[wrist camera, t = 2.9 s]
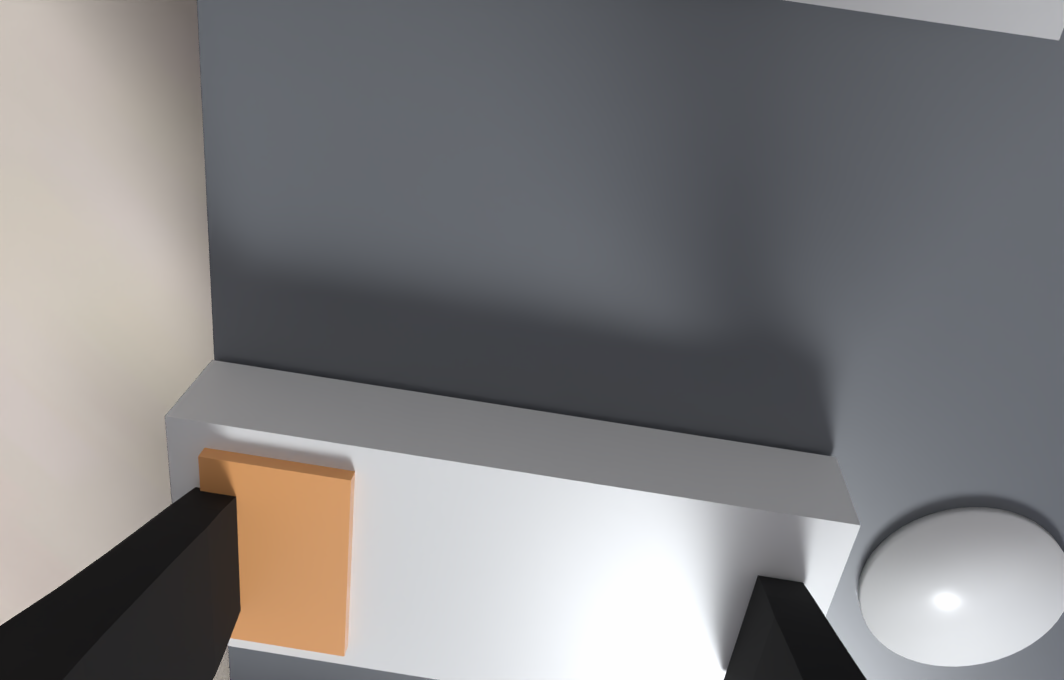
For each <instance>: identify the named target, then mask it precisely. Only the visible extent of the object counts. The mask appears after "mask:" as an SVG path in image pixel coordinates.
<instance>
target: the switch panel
mask: <svg viewBox="0 0 1064 680" xmlns="http://www.w3.org/2000/svg"><path fill="white" fill-rule="evenodd" d="M197 10H198V31H199V51H200V72H201V92H202V113H203V134H204V154H205V175H206V195H207V216H208V236H209V257H210V277H211V298H212V319H213V339H214V360H216V361H222V362H229V363H235V364H241V365H248V366H254V367H261V368H267V369H274V370H280V371H286V372H293V373H299V374H306V375H312V376H319V377H325V378H331V379H338V380H344V381H351V382H357V383H363V384H370V385H376V386H383V387H389V388H396V389H402V390H408V391H415V392H421V393H428V394H434V395H441V396H447V397H453V398H460V399H466V400H473V401H479V402H485V403H492V404H498V405H505V406H511V407H518V408H524V409H530V410H537V411H543V412H550V413H556V414H563V415H569V416H575V417H582V418H588V419H595V420H601V421H608V422H614V423H620V424H627V425H633V426H640V427H646V428H652V429H659V430H665V431H672V432H678V433H685V434H691V435H697V436H704V437H710V438H717V439H723V440H730V441H736V442H742V443H749V444H755V445H762V446H768V447H774V448H781V449H787V450H794V451H800V452H807V453H813V454H819V455H826V456H832V457H836V459H837V462H838V465H839V468H840V470H841V473H842V476H843V478H844V481H845V484H846V487H847V489H848V492H849V495H850V498H851V500H852V503H853V506H854V509H855V511H856V514H857V517H858V520H859V522H860V525H861V526H860V529H859V531H858V534H857V536H856V539H855V541H854V544H853V547H852V549H851V552H850V554H849V557H848V560H847V562H846V565H845V567H844V570H843V573H842V575H841V578H840V580H839V583H838V586H837V588H836V591H835V593H834V596H833V599H832V601H831V604H830V606H829V609H828V612H827V614H826V618H827V620H828V621H829V623H830V624H831V626H832V628H833V629H834V631H835V632H836V634H837V635H838V637H839V638H840V640H841V641H842V643H843V644H844V646H845V647H846V649H847V651H848V652H849V654H850V655H851V657H852V658H853V660H854V661H855V663H856V664H857V666H858V667H859V669H860V670H861V672H862V673H863V675H864V676H865V677H866V679H867V680H1064V29H1063V31H1062V34H1061V36H1060V39H1059V40H1052V39H1046V38H1039V37H1032V36H1025V35H1018V34H1011V33H1005V32H998V31H991V30H984V29H977V28H970V27H963V26H957V25H950V24H943V23H936V22H929V21H922V20H915V19H909V18H902V17H895V16H888V15H881V14H874V13H868V12H861V11H854V10H847V9H840V8H833V7H826V6H820V5H813V4H806V3H799V2H792V1H785V0H197ZM228 647H229V668H230V680H436V679H430V678H424V677H418V676H411V675H405V674H399V673H393V672H387V671H381V670H374V669H368V668H362V667H356V666H350V665H343V664H337V663H331V662H325V661H319V660H313V659H306V658H300V657H294V656H288V655H282V654H276V653H269V652H263V651H257V650H251V649H245V648H238V647H232V646H228Z"/></svg>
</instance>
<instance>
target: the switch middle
mask: <svg viewBox="0 0 1064 680" xmlns="http://www.w3.org/2000/svg"><path fill="white" fill-rule="evenodd" d="M165 424H166V436H167V448H168V460H169V472H170V485H171V497H172V504H173V503H174V502H175V501H177V500H178V499H179V498H181V497H182V496H184V495H185V494H186V493H188V492H189V491H191V490H192V489H193V488H195V487H198V488H200V491H205V492H211V493H217V494H224V495H230V496H236V501H237V527H238V553H239V579H240V605H241V611H240V614H239V616H238V619H237V622H236V624H235V627H234V630H233V632H232V635H231V637H230V640H229V643H228V645H227V646H232V647H238V648H245V649H251V650H257V651H263V652H269V653H276V654H282V655H288V656H294V657H300V658H306V659H313V660H319V661H325V662H331V663H337V664H343V665H350V666H356V667H362V668H368V669H374V670H381V671H387V672H393V673H399V674H405V675H411V676H418V677H424V678H430V679H436V680H724V677H725V674H726V671H727V668H728V665H729V662H730V659H731V656H732V653H733V650H734V647H735V644H736V641H737V638H738V634H739V631H740V628H741V625H742V622H743V619H744V616H745V613H746V610H747V607H748V604H749V601H750V598H751V595H752V592H753V589H754V586H755V583H756V579H757V576H758V575H759V576H765V577H772V578H778V579H784V580H791V581H797V582H803V583H804V585H805V586H806V588H807V589H808V591H809V592H810V594H811V595H812V597H813V598H814V600H815V601H816V603H817V604H818V606H819V607H820V609H821V610H822V612H823V614H824V615H825V617H826V614H827V612H828V609H829V606H830V604H831V601H832V599H833V596H834V593H835V591H836V588H837V586H838V583H839V580H840V578H841V575H842V573H843V570H844V567H845V565H846V562H847V560H848V557H849V554H850V552H851V549H852V547H853V544H854V541H855V539H856V536H857V534H858V531H859V529H860V526H861V525H860V522H859V520H858V517H857V514H856V511H855V509H854V506H853V503H852V500H851V498H850V495H849V492H848V489H847V487H846V484H845V481H844V478H843V476H842V473H841V470H840V468H839V465H838V462H837V459H836V457H832V456H826V455H819V454H813V453H807V452H800V451H794V450H787V449H781V448H774V447H768V446H762V445H755V444H749V443H742V442H736V441H730V440H723V439H717V438H710V437H704V436H697V435H691V434H685V433H678V432H672V431H665V430H659V429H652V428H646V427H640V426H633V425H627V424H620V423H614V422H608V421H601V420H595V419H588V418H582V417H575V416H569V415H563V414H556V413H550V412H543V411H537V410H530V409H524V408H518V407H511V406H505V405H498V404H492V403H485V402H479V401H473V400H466V399H460V398H453V397H447V396H441V395H434V394H428V393H421V392H415V391H408V390H402V389H396V388H389V387H383V386H376V385H370V384H363V383H357V382H351V381H344V380H338V379H331V378H325V377H319V376H312V375H306V374H299V373H293V372H286V371H280V370H274V369H267V368H261V367H254V366H248V365H241V364H235V363H229V362H222V361H216V360H212V361H211V362H210V363H209V364H208V365H207V367H206V368H205V369H204V370H203V371H202V372H201V374H200V375H199V376H198V377H197V378H196V380H195V381H194V382H193V383H192V384H191V386H190V387H189V388H188V389H187V390H186V392H185V393H184V394H183V395H182V396H181V398H180V399H179V400H178V401H177V402H176V404H175V405H174V406H173V407H172V408H171V409H170V411H169V412H168V413H167V414H166V415H165Z"/></svg>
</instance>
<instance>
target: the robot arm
mask: <svg viewBox="0 0 1064 680" xmlns="http://www.w3.org/2000/svg"><path fill="white" fill-rule="evenodd" d="M240 611H241V605H240V579H239V553H238V527H237V501H236V496H230V495H224V494H217V493H211V492H205V491H200V488H198V487H195V488H193V489H192V490H191V491H189V492H188V493H186V494H185V495H184V496H182V497H181V498H179V499H178V500H177V501H175V502H174V503H173V504H171V505H170V506H169V507H167V508H166V509H165V510H163V511H162V512H161V513H159V514H158V515H157V516H155V517H154V518H153V519H151V520H150V521H149V522H147V523H146V524H145V525H143V526H142V527H141V528H139V529H138V530H137V531H135V532H134V533H133V534H131V535H130V536H129V537H127V538H126V539H125V540H123V541H122V542H121V543H119V544H118V545H117V546H115V547H114V548H113V549H111V550H110V551H109V552H107V553H106V554H104V555H103V556H102V557H100V558H99V559H97V560H96V561H95V562H93V563H92V564H90V565H89V566H88V567H86V568H85V569H83V570H82V571H81V572H79V573H78V574H77V575H75V576H74V577H72V578H71V579H70V580H68V581H67V582H65V583H64V584H63V585H61V586H60V587H58V588H57V589H55V590H54V591H52V592H51V593H49V594H48V595H46V596H45V597H43V598H42V599H40V600H39V601H37V602H36V603H34V604H33V605H31V606H30V607H28V608H27V609H25V610H24V611H22V612H21V613H19V614H17V615H16V616H14V617H13V618H11V619H10V620H8V621H7V622H5V623H4V624H2V625H1V626H0V680H213V678H214V676H215V674H216V672H217V670H218V667H219V665H220V662H221V660H222V657H223V655H224V652H225V650H226V647H227V645H228V643H229V640H230V637H231V635H232V632H233V630H234V627H235V624H236V622H237V619H238V616H239V614H240ZM724 680H867V679H866V677H865V676H864V675H863V673H862V672H861V670H860V669H859V667H858V666H857V664H856V663H855V661H854V660H853V658H852V657H851V655H850V654H849V652H848V651H847V649H846V647H845V646H844V644H843V643H842V641H841V640H840V638H839V637H838V635H837V634H836V632H835V631H834V629H833V628H832V626H831V624H830V623H829V621H828V620H827V618H826V617H825V615H824V614H823V612H822V610H821V609H820V607H819V606H818V604H817V603H816V601H815V600H814V598H813V597H812V595H811V594H810V592H809V591H808V589H807V588H806V586H805V585H804V583H803V582H797V581H791V580H784V579H778V578H772V577H765V576H759V575H758V576H757V579H756V583H755V586H754V589H753V592H752V595H751V598H750V601H749V604H748V607H747V610H746V613H745V616H744V619H743V622H742V625H741V628H740V631H739V634H738V638H737V641H736V644H735V647H734V650H733V653H732V656H731V659H730V662H729V665H728V668H727V671H726V674H725V677H724Z"/></svg>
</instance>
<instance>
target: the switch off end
mask: <svg viewBox="0 0 1064 680" xmlns="http://www.w3.org/2000/svg"><path fill="white" fill-rule="evenodd" d="M785 1H792V2H799V3H806V4H813V5H820V6H826V7H833V8H840V9H847V10H854V11H861V12H868V13H874V14H881V15H888V16H895V17H902V18H909V19H915V20H922V21H929V22H936V23H943V24H950V25H957V26H963V27H970V28H977V29H984V30H991V31H998V32H1005V33H1011V34H1018V35H1025V36H1032V37H1039V38H1046V39H1052V40H1059V39H1060V36H1061V34H1062V31H1063V29H1064V0H785Z"/></svg>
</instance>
